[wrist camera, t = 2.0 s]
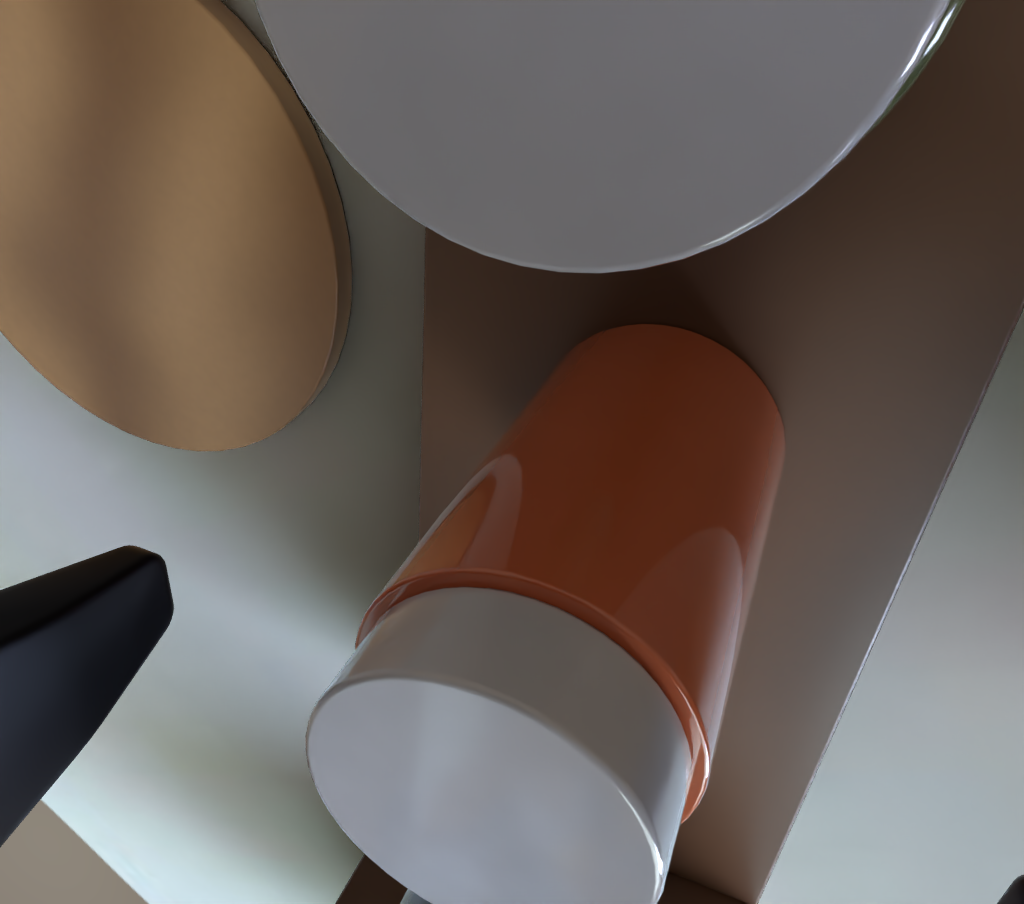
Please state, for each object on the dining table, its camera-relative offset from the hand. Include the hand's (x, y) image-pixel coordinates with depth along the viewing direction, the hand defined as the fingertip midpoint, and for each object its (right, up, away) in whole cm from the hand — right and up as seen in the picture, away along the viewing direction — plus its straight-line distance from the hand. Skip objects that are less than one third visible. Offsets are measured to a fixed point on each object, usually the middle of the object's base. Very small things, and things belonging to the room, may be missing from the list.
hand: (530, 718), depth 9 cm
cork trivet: (-8, +8, +10) cm, 15 cm away
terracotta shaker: (+2, +3, +5) cm, 6 cm away
